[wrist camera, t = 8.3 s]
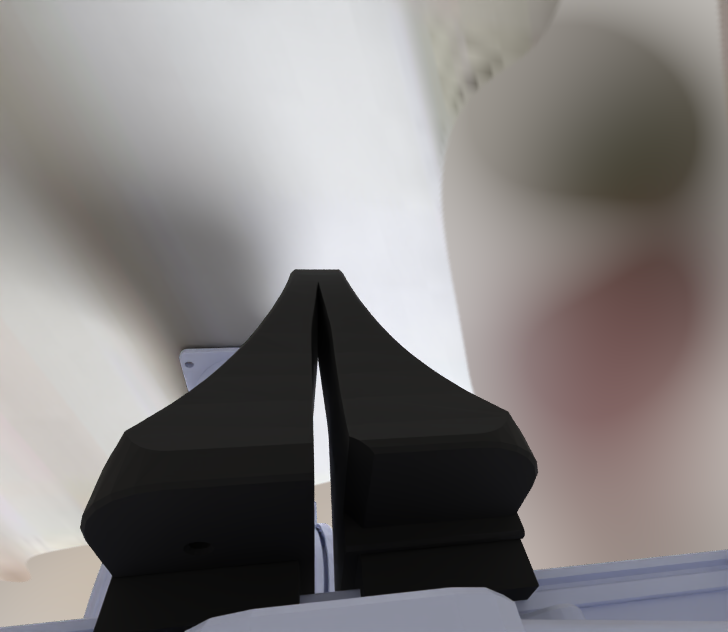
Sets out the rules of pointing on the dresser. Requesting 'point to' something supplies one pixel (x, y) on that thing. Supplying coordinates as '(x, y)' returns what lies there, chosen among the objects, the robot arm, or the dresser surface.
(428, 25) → the dresser surface
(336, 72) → the dresser surface
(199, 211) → the dresser surface
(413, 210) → the dresser surface
